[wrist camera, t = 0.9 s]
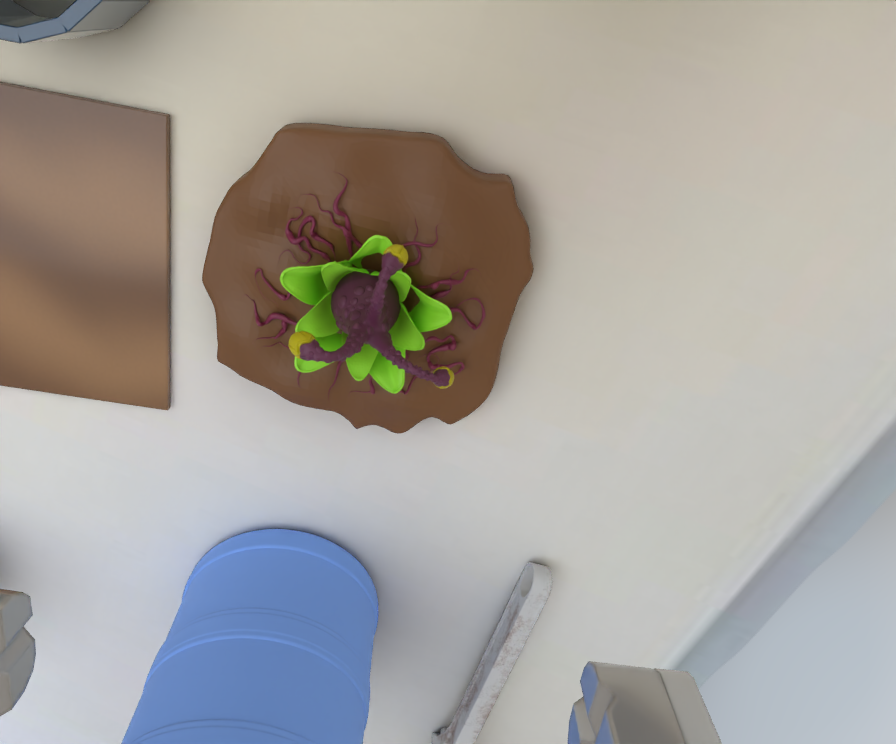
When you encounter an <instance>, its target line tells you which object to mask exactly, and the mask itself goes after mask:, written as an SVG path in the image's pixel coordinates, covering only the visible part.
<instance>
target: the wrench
mask: <svg viewBox="0 0 896 744" xmlns="http://www.w3.org/2000/svg"><path fill="white" fill-rule="evenodd" d="M551 588H552V571H551V569H550V568H549V567H547V566H543V565H539V564H536V563H532V562H530V563H528V564H527V565H526V566H525V568H524V570H523V572H522V574H521V576H520V578H519V581H518V583H517V585H516V587H515V589H514V591H513V593H512V595H511V598H510V600H509V602H508V604H507V606H506V608H505V610H504V613H503V615H502V617H501V619H500V621H499V623H498V625H497V627H496V630H495V632H494V634H493V636H492V638H491V640H490V642H489V644H488V646H487V648H486V651H485V653H484V655H483V657H482V659H481V661H480V663H479V665H478V667H477V670H476V672H475V674H474V676H473V678H472V680H471V682H470V684H469V687H468V689H467V691H466V693H465V695H464V697H463V699H462V702H461V704H460V706H459V708H458V710H457V712H456V714H455V716H454V718H453V720H452V722H451V724H450V726H449V727H448V728H442V729H441V731H440V734H438V733H433V734H432V744H474V743H475V741H476V739H477V737H478V735H479V733H480V731H481V729H482V727H483V725H484V723H485V721H486V719H487V717H488V715H489V713H490V711H491V709H492V707H493V705H494V703H495V701H496V700H497V698H498V696H499V694H500V692H501V690H502V688H503V686H504V684H505V682H506V680H507V678H508V676H509V674H510V672H511V670H512V668H513V666H514V664H515V662H516V660H517V658H518V656H519V654H520V652H521V650H522V648H523V646H524V644H525V642H526V640H527V638H528V637H529V635H530V633H531V631H532V629H533V627H534V625H535V623H536V621H537V619H538V617H539V615H540V613H541V611H542V609H543V607H544V605H545V603H546V601H547V599H548V597H549V595H550V591H551Z"/></svg>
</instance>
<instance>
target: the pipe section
mask: <svg viewBox="0 0 896 744" xmlns="http://www.w3.org/2000/svg"><path fill="white" fill-rule="evenodd" d="M149 1H150V0H76V1H75V2H74V3H73V4H72V5H71V6H70V7H69V8H67V9H66V10H65V11H64V12H63V13H62V14H61V15H60V16H59V17H56V18H52V19H51V18H46V17H41V16H36V15H35V14H33V13H31V12H30V11H28V10H26V9H25V8H23V7H22V6H20V5H18V4H17V3H15V2H14V1H12V0H0V40H5V41H10V42H15V43H33V42H43V41H53V40H63V39H72V38H81V37H86V36H90V35H94V34H98V33H102V32H106V31H110V30H115V29H118V28H120V27H122V26H123V25H124V24H125V23H126V22H127V21H128V20H129V19H130V18H132V17H133V16H134V15H135V14H136V13H137V12H138V11H139V10H141V9H142V8H143V7H144V6H145V5H146V4H147V3H148V2H149Z"/></svg>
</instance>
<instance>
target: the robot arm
mask: <svg viewBox="0 0 896 744" xmlns="http://www.w3.org/2000/svg"><path fill="white" fill-rule="evenodd" d="M32 615H33V614H32V607H31V600H30V596H28V595H27V594H25V593H23V592H18V591H11V590H4V589H0V716H1V715H3V714H5V713H6V712H8V711H10V710H12V708H13V707H14V706H15V704H16V703H17V701H18V700H19V698H20V697H21V695H22V694H23V693H24V691H25V689H26V686H27V684H28V681H29V679H30V677H31V674H32V672H33V668H34V662H35V656H36V649H35V639H34V638H33V637H32V636H31V635H30V633H29V632H28V631H27V630H26V629H25V628H24V627H23V626H24V625H25V624H26V622H27V621H28V620H29V619H30V618H31V616H32ZM580 683H581V687H582V692H583V697H582V698H581V699H579V700H578V701H577V702H575V703H574V704H573V708H572V712H571V716H570V720H569V731H568V744H722V743H721V741H720V738H719V736H718V733H717V731H716V729H715V726H714V724H713V722H712V720H711V717H710V715H709V713H708V710H707V708H706V706H705V703H704V701H703V699H702V696H701V694H700V692H699V689H698V687H697V685H696V682H695V680H694V678H693V677H692V676H691V675H690V674H689V673H688V672H684V671H675V670H666V669H656V668H655V669H651V668H644V667H635V666H626V665H617V664H609V663H600V662H591V661H589V662H588V663H587V664H586V666H585V667H584V670H583V673H582V677H581V680H580Z"/></svg>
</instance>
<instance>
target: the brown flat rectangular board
mask: <svg viewBox="0 0 896 744" xmlns="http://www.w3.org/2000/svg"><path fill="white" fill-rule="evenodd" d="M0 385H1V386H8V387H15V388H21V389H28V390H35V391H41V392H48V393H55V394H62V395H68V396H75V397H82V398H88V399H95V400H102V401H109V402H115V403H122V404H129V405H135V406H142V407H149V408H156V409H162V410H168V409H169V408H170V115H169V114H165V113H159V112H154V111H149V110H144V109H139V108H133V107H128V106H123V105H118V104H113V103H107V102H102V101H97V100H92V99H87V98H81V97H76V96H71V95H66V94H61V93H55V92H50V91H45V90H40V89H35V88H29V87H24V86H19V85H14V84H8V83H3V82H0Z"/></svg>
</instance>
